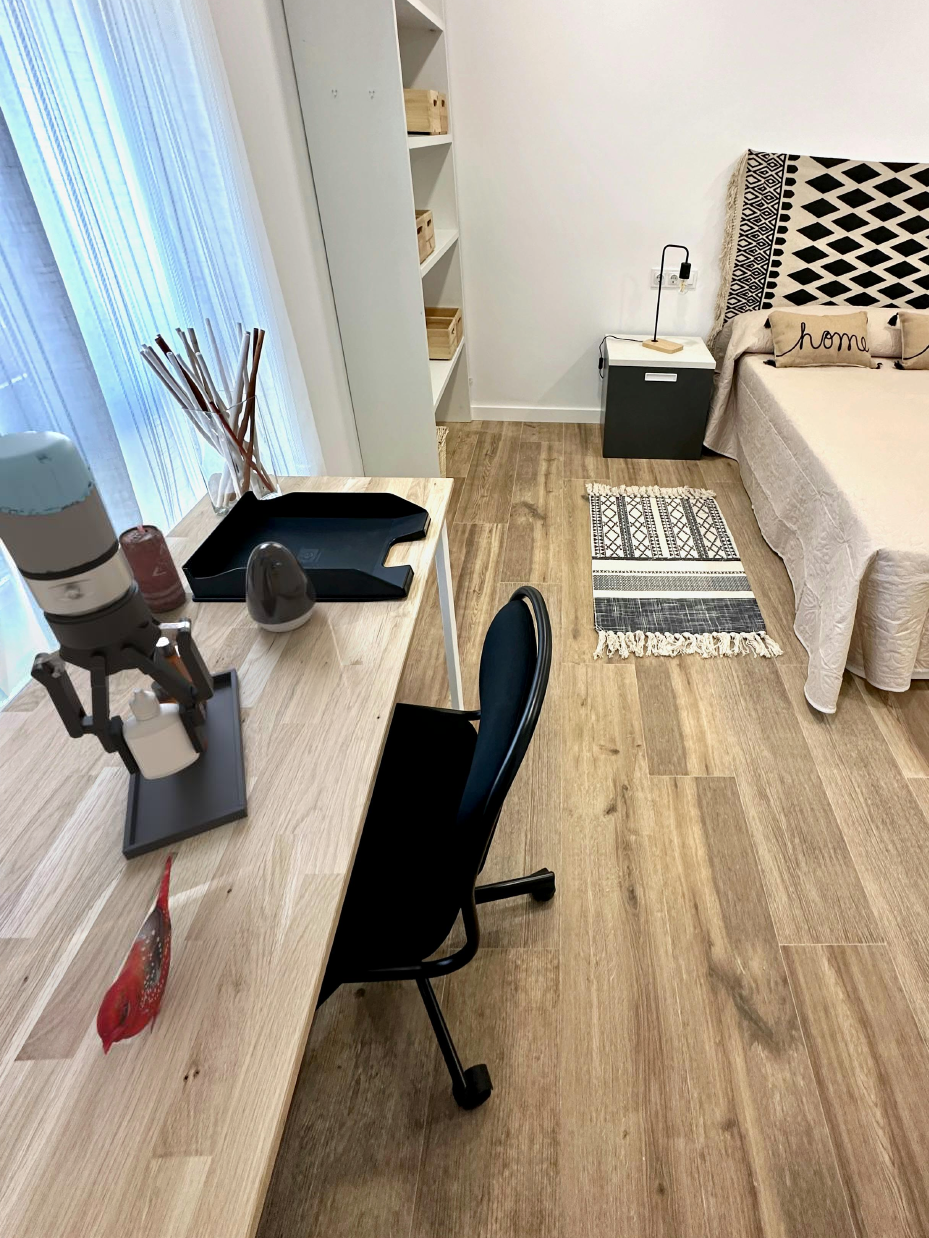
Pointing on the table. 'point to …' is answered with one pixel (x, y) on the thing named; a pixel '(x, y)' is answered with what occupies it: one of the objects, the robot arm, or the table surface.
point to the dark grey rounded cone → (278, 588)
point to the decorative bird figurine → (140, 977)
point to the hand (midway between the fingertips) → (168, 753)
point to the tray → (193, 782)
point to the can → (153, 567)
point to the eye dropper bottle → (157, 736)
